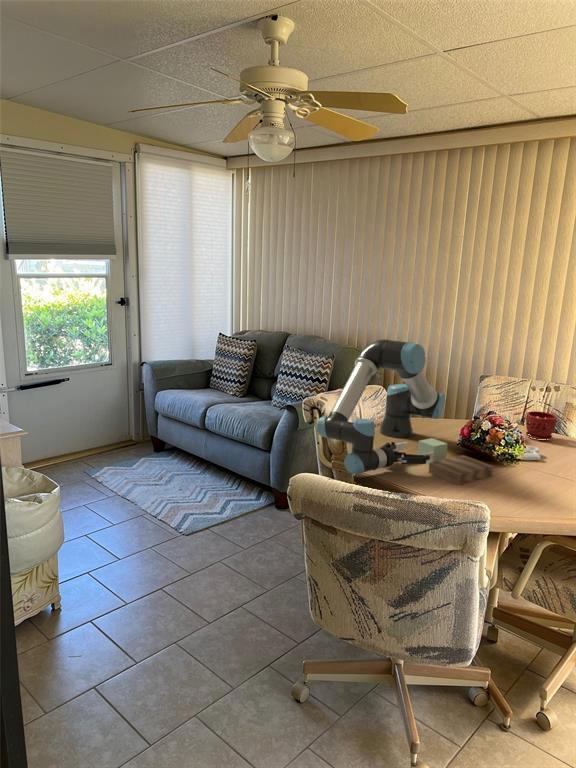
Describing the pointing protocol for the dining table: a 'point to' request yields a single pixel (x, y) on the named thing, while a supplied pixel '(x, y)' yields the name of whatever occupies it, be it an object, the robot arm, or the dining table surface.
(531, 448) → the white brass knuckles
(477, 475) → the block
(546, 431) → the plant pot
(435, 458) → the green block
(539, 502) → the dining table surface
